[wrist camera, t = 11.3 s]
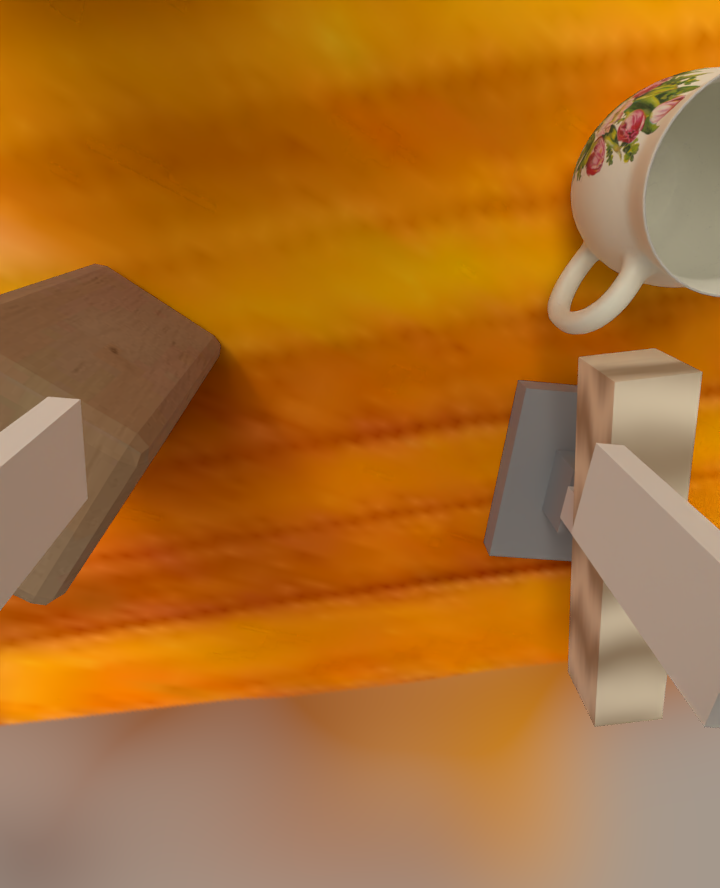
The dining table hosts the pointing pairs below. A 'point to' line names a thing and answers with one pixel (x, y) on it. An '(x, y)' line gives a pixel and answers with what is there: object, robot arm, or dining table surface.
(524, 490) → the fulcrum
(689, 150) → the floral ceramic pitcher
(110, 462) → the wooden block
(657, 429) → the batten
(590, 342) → the dining table surface
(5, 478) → the robot arm
